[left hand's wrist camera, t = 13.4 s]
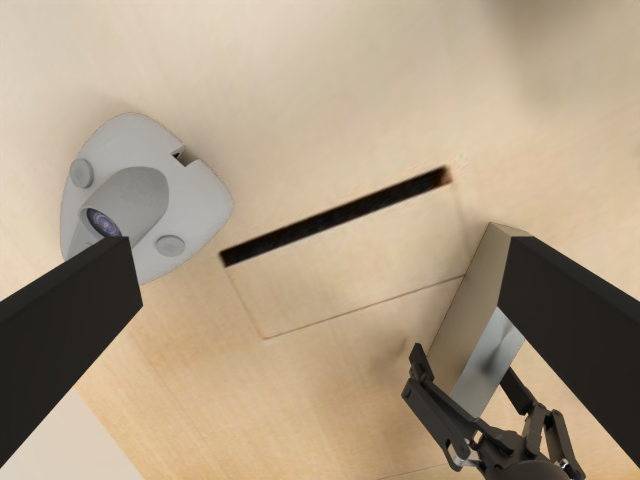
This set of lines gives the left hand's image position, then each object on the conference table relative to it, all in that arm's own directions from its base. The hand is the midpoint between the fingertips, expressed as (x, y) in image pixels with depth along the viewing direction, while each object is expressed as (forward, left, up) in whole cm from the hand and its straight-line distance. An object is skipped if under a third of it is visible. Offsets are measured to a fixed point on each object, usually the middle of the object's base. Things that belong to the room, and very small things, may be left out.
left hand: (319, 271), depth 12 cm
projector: (+13, -20, -33) cm, 41 cm away
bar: (+15, +26, -33) cm, 45 cm away
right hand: (+22, +26, -29) cm, 46 cm away
